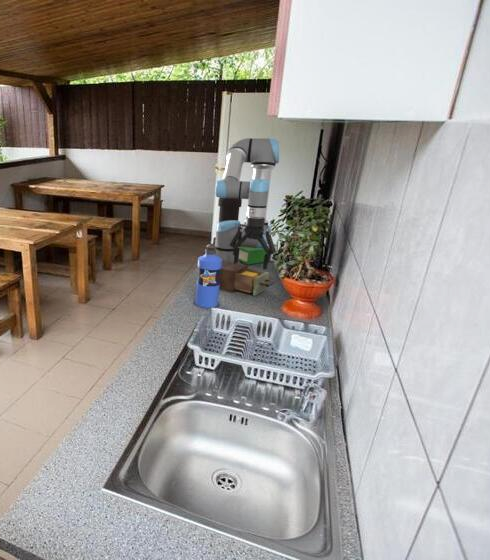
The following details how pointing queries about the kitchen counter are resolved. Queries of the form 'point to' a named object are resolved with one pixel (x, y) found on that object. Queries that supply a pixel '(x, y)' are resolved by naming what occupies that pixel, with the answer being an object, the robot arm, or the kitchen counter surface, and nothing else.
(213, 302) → the water bottle
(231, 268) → the cabinet
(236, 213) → the grey black cylinder
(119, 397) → the kitchen counter surface
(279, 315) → the kitchen counter surface
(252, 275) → the toy block
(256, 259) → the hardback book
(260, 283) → the drawer
